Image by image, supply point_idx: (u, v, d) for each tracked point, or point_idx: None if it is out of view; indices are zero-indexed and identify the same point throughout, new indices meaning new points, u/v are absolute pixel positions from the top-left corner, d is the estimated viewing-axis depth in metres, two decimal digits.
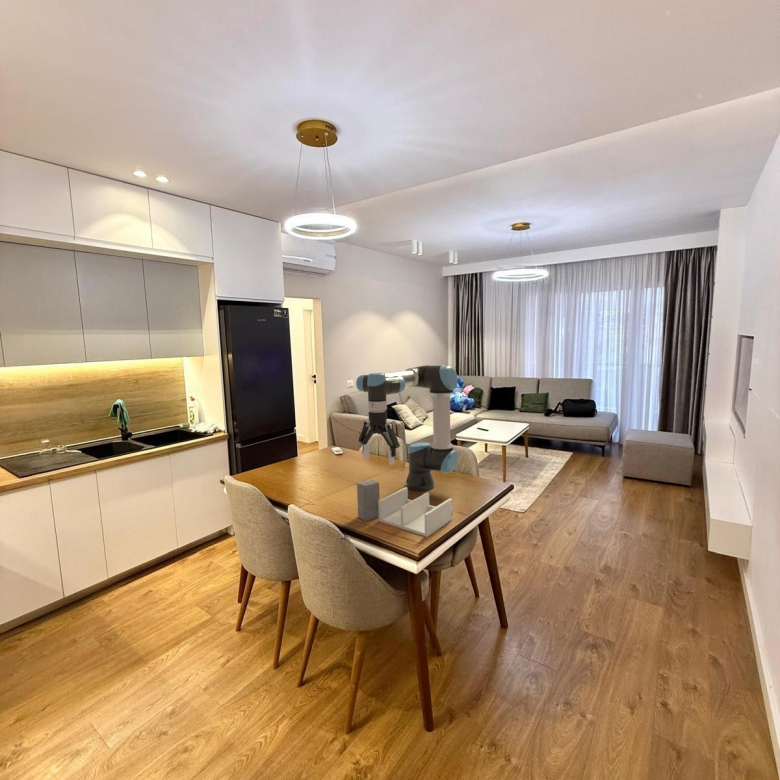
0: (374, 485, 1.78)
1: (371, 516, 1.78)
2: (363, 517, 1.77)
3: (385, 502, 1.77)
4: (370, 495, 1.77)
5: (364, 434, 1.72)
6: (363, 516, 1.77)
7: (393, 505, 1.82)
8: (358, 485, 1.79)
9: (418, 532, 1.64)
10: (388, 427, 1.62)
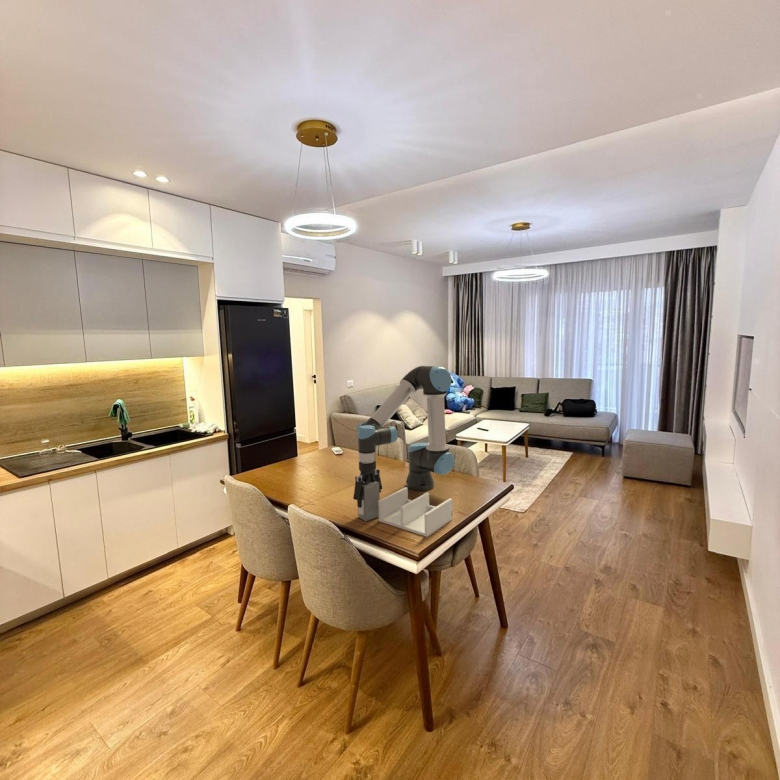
0: (374, 485, 1.78)
1: (371, 516, 1.78)
2: (363, 517, 1.77)
3: (385, 502, 1.77)
4: (370, 495, 1.77)
5: None
6: (363, 516, 1.77)
7: (393, 505, 1.82)
8: None
9: (418, 532, 1.64)
10: None
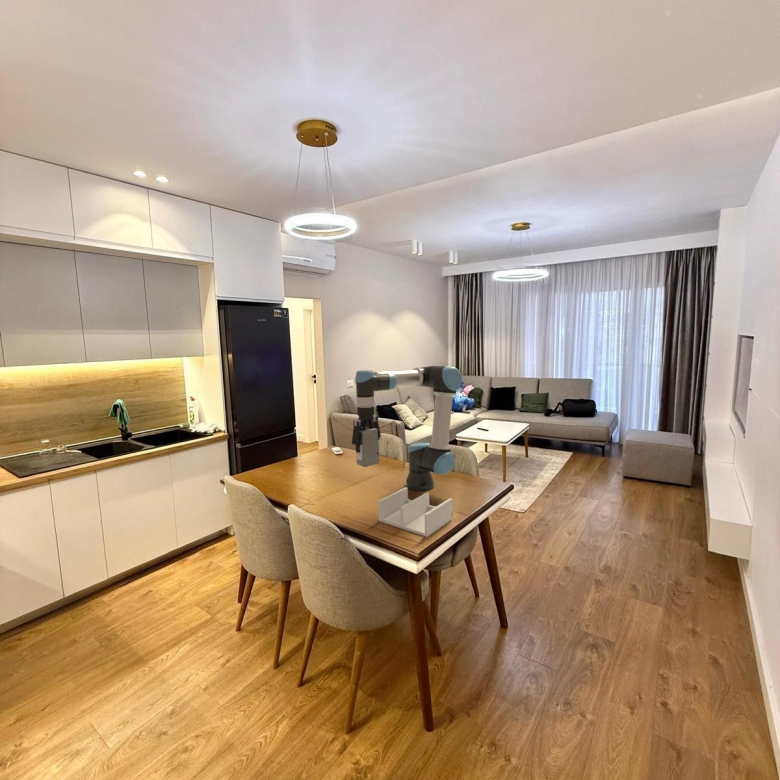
0: (372, 431, 1.75)
1: (370, 462, 1.75)
2: (362, 463, 1.74)
3: (385, 502, 1.77)
4: (369, 441, 1.74)
5: None
6: (362, 463, 1.75)
7: (393, 505, 1.82)
8: None
9: (418, 532, 1.64)
10: None
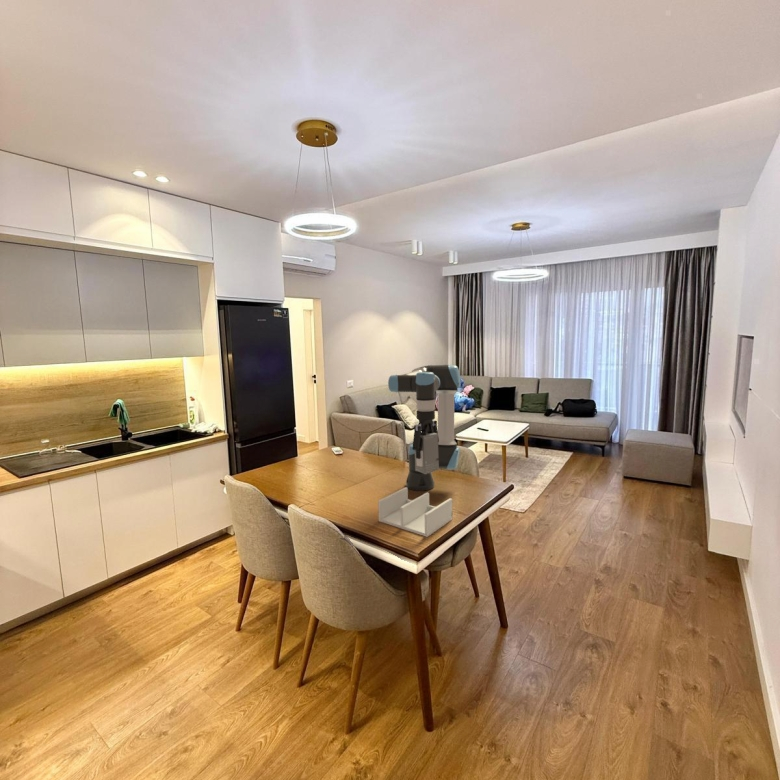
0: (433, 436, 1.67)
1: (431, 469, 1.67)
2: (422, 470, 1.66)
3: (385, 502, 1.77)
4: (429, 446, 1.66)
5: None
6: (422, 469, 1.66)
7: (393, 505, 1.82)
8: None
9: (418, 532, 1.64)
10: None
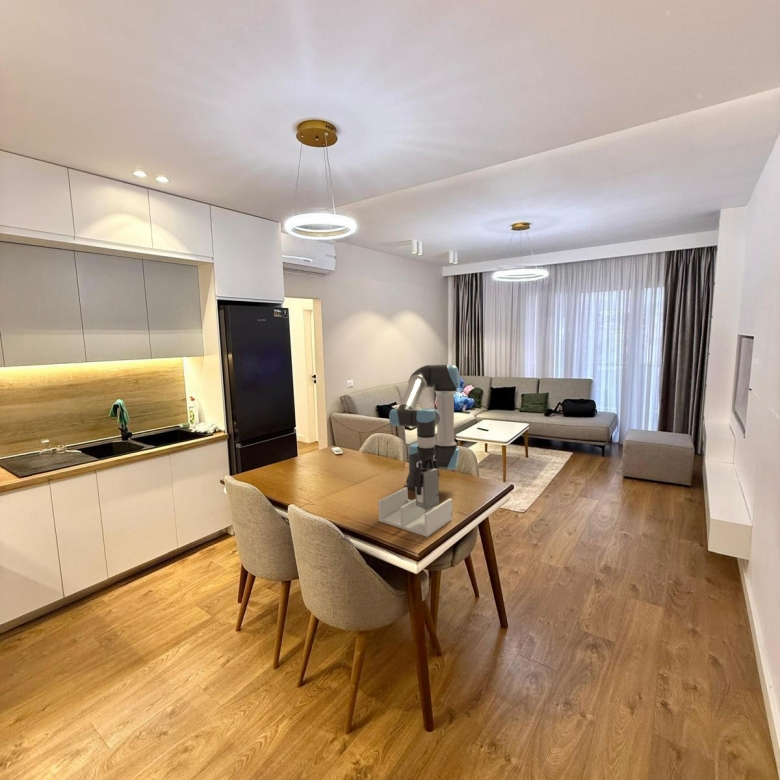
0: (433, 472, 1.69)
1: (431, 504, 1.69)
2: (423, 506, 1.68)
3: (385, 502, 1.77)
4: (430, 482, 1.68)
5: None
6: (422, 505, 1.68)
7: (393, 505, 1.82)
8: None
9: (418, 532, 1.64)
10: None
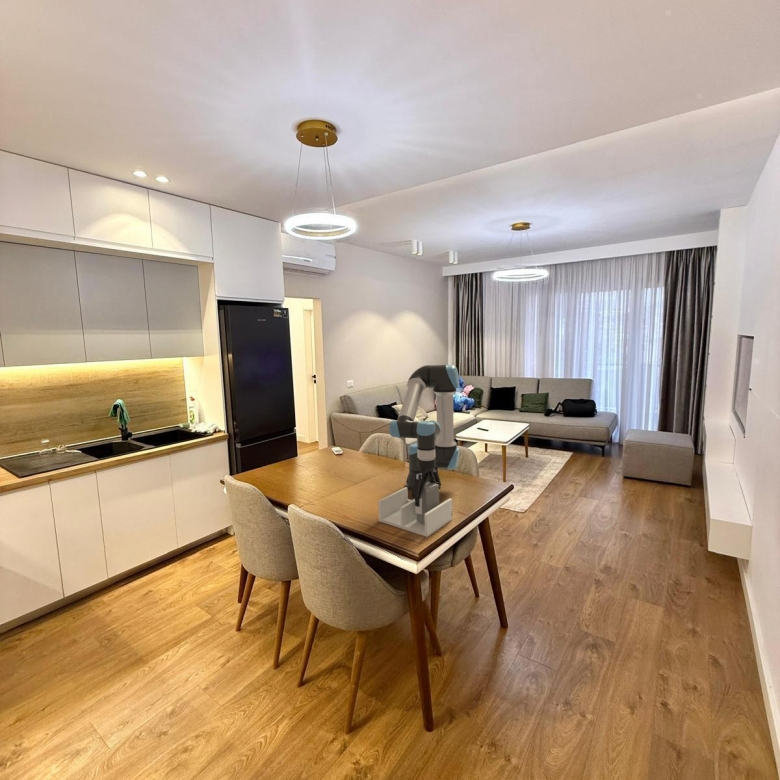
0: (434, 487, 1.70)
1: None
2: (424, 521, 1.69)
3: (385, 502, 1.77)
4: (431, 498, 1.69)
5: (435, 479, 1.77)
6: (424, 521, 1.69)
7: (393, 505, 1.82)
8: None
9: (418, 532, 1.64)
10: None
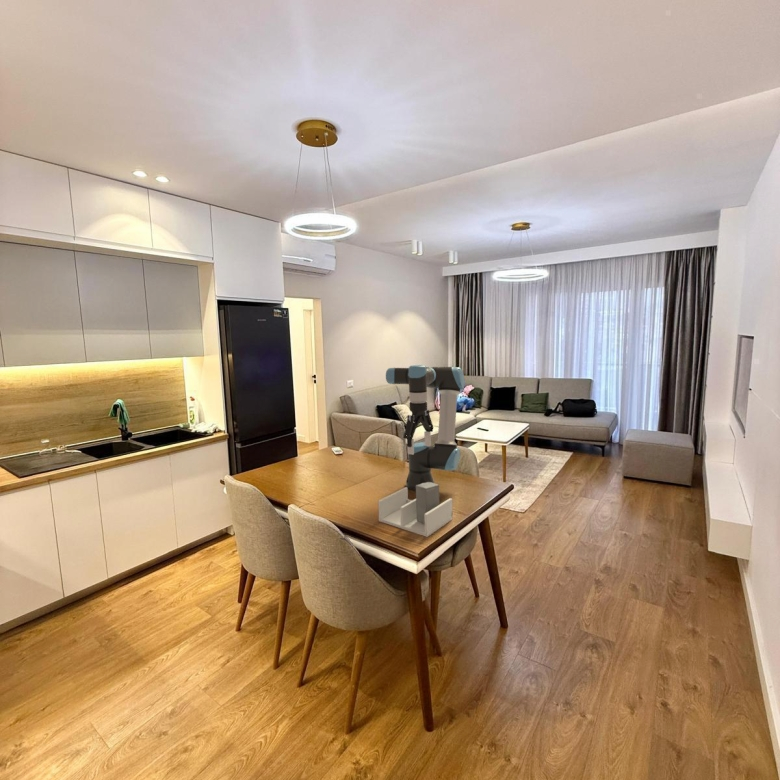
0: (434, 487, 1.70)
1: None
2: (424, 521, 1.69)
3: (385, 502, 1.77)
4: (431, 498, 1.69)
5: (427, 422, 1.81)
6: (424, 521, 1.69)
7: (393, 505, 1.82)
8: (417, 488, 1.71)
9: (418, 532, 1.64)
10: None
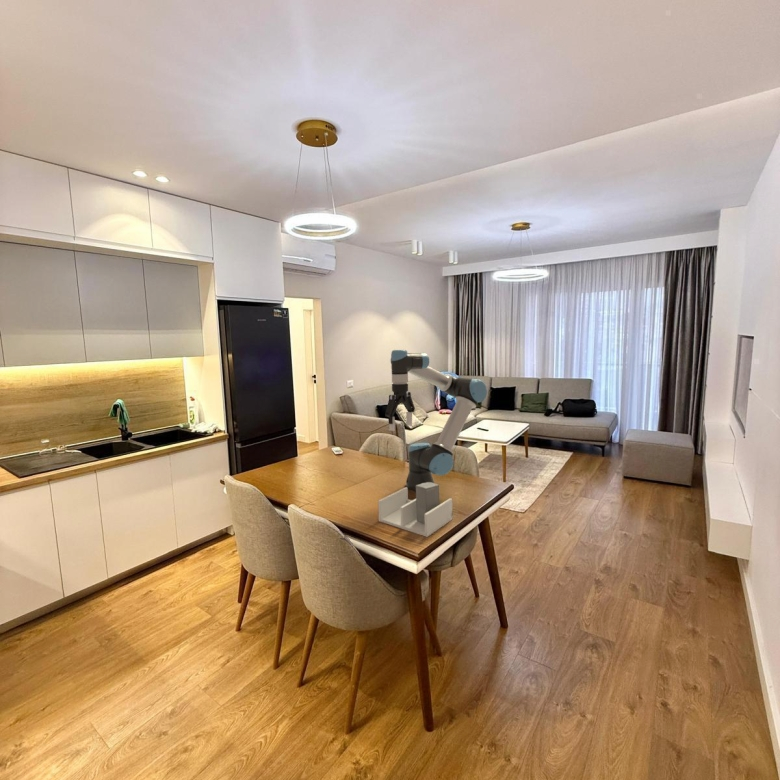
0: (434, 487, 1.70)
1: None
2: (424, 521, 1.69)
3: (385, 502, 1.77)
4: (431, 498, 1.69)
5: (409, 403, 1.96)
6: (424, 521, 1.69)
7: (393, 505, 1.82)
8: (417, 488, 1.71)
9: (418, 532, 1.64)
10: None
